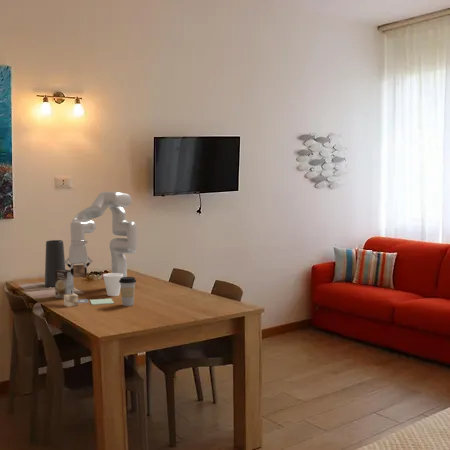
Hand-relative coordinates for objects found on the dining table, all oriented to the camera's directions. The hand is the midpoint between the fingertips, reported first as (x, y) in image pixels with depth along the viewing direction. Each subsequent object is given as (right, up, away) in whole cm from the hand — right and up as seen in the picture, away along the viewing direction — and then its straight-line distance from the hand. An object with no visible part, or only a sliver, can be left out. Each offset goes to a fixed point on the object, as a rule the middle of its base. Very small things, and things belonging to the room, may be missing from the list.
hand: (78, 274), depth 342 cm
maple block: (-2, -16, -9) cm, 19 cm away
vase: (-27, -11, +49) cm, 57 cm away
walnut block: (0, -1, 0) cm, 1 cm away
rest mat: (+13, -16, -1) cm, 20 cm away
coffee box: (-11, -15, +12) cm, 22 cm away
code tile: (0, -15, +1) cm, 15 cm away
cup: (+16, -14, +19) cm, 28 cm away
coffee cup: (+29, -16, -7) cm, 34 cm away
